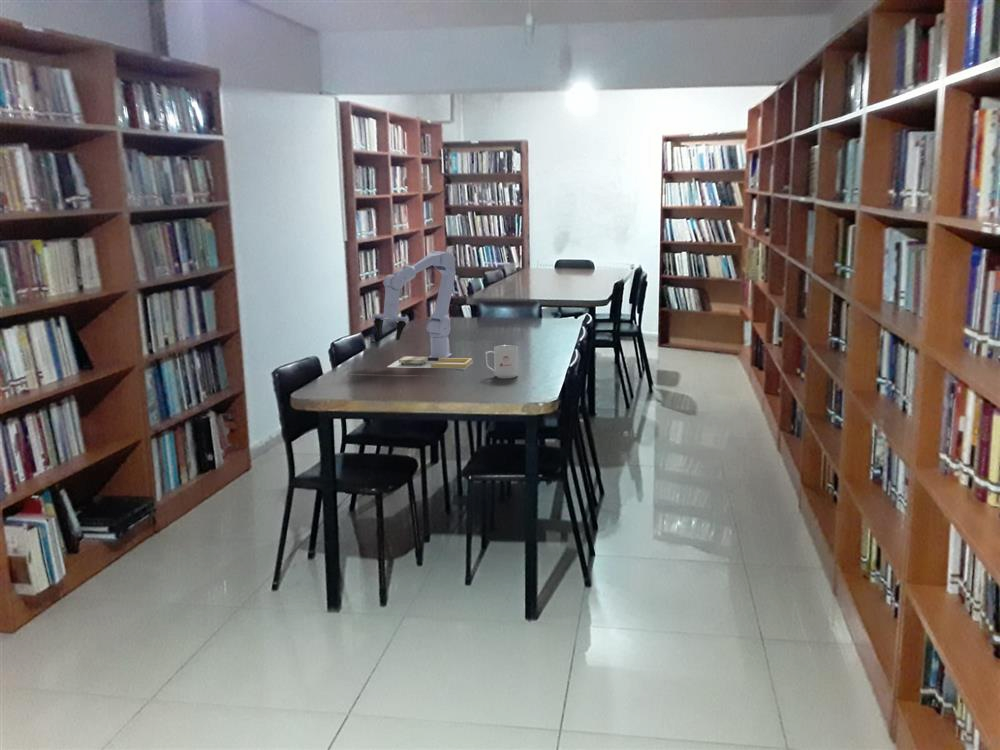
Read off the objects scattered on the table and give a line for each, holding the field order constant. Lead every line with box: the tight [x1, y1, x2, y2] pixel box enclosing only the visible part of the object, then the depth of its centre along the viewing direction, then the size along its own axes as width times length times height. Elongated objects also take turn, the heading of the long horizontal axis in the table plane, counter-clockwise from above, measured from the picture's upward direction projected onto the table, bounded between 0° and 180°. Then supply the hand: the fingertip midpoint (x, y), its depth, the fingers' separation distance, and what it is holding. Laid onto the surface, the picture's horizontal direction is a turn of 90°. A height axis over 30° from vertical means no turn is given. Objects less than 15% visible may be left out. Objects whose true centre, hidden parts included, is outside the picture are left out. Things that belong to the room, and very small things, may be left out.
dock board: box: [387, 357, 474, 371], centre depth 352 cm, size 14×32×2 cm, turn 79°
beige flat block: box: [398, 355, 429, 365], centre depth 353 cm, size 10×7×2 cm
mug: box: [485, 344, 519, 379], centre depth 327 cm, size 12×9×11 cm
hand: (388, 338), depth 352 cm, fingers open, 7 cm apart
